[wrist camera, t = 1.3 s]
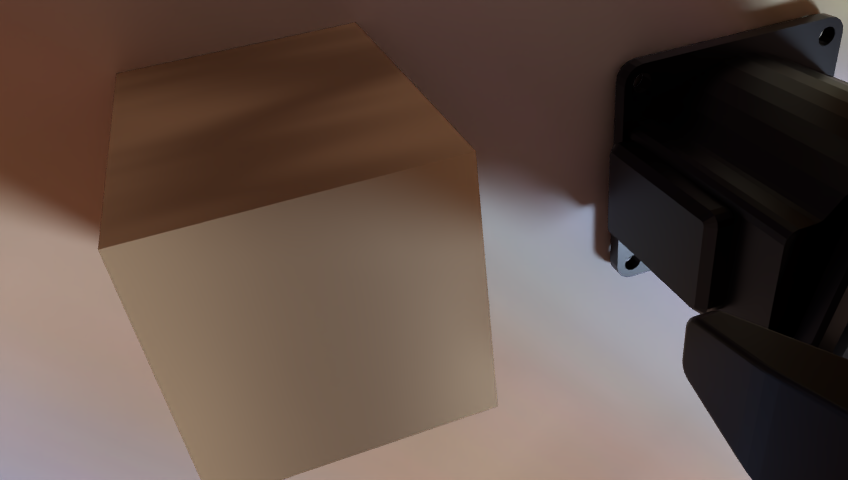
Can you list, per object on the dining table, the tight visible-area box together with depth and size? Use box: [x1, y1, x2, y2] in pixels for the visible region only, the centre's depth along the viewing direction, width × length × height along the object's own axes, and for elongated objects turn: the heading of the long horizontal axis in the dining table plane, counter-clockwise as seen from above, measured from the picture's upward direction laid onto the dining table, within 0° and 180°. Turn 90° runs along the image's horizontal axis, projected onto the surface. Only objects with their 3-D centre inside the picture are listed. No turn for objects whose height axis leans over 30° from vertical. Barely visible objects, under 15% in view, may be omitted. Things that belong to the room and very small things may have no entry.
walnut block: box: [98, 22, 498, 480], centre depth 14 cm, size 5×5×7 cm
